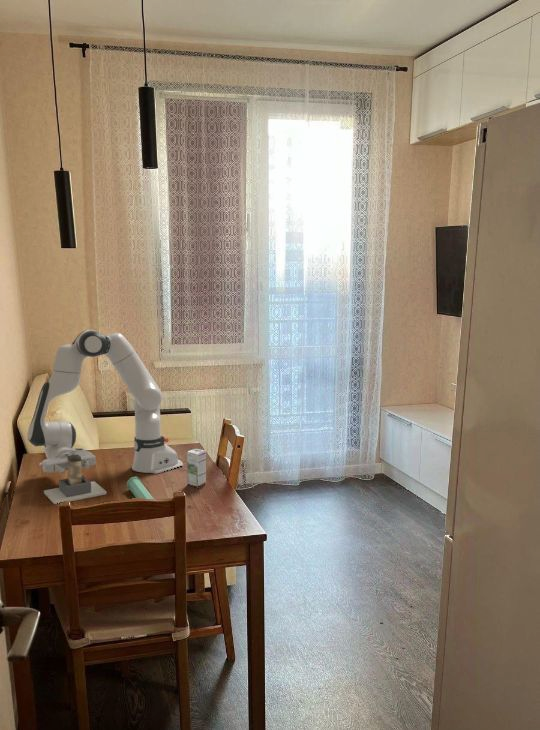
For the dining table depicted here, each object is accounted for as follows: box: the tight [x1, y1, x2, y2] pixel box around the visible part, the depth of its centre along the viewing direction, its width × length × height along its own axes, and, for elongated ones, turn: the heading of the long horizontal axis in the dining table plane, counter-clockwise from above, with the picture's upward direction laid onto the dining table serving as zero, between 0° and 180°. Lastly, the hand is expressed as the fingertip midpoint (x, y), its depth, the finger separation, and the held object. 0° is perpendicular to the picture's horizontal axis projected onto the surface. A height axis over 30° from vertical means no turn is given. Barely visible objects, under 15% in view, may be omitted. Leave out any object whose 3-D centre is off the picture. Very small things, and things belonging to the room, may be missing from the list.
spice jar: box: [67, 455, 83, 486], centre depth 234 cm, size 4×4×14 cm
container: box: [126, 476, 155, 500], centre depth 229 cm, size 6×6×25 cm
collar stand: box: [43, 475, 108, 505], centre depth 234 cm, size 20×14×5 cm
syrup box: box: [186, 448, 207, 486], centre depth 247 cm, size 6×6×14 cm
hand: (75, 468), depth 233 cm, fingers open, 8 cm apart
